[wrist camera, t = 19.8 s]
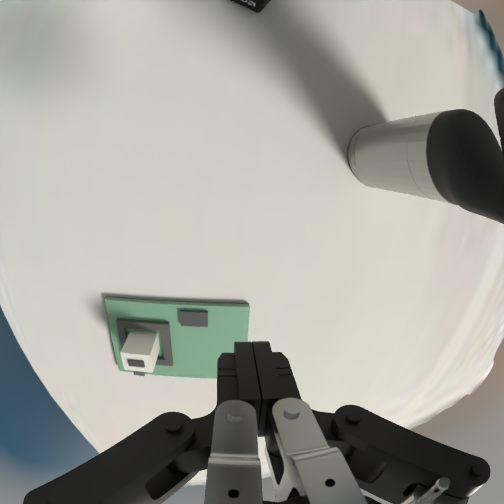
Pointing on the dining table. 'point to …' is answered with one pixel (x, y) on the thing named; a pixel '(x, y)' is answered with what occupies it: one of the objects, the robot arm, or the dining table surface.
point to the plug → (140, 352)
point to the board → (180, 332)
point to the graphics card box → (253, 4)
